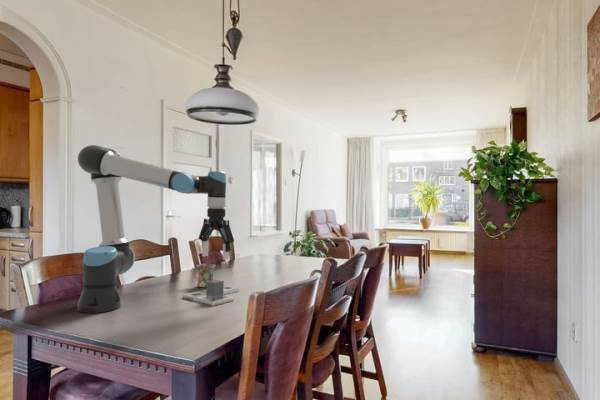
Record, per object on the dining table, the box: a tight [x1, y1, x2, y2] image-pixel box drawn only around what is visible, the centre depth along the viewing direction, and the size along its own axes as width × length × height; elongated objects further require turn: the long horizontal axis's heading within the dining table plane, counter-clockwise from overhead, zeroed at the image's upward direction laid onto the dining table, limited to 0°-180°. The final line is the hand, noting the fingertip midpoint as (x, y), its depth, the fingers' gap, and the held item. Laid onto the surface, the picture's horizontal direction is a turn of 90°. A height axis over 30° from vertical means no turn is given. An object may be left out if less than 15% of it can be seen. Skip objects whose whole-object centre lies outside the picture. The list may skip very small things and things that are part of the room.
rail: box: [182, 285, 241, 302], centre depth 182 cm, size 26×8×2 cm, turn 141°
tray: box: [195, 294, 235, 307], centre depth 170 cm, size 11×11×2 cm
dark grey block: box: [205, 279, 225, 301], centre depth 170 cm, size 5×5×8 cm
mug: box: [190, 263, 217, 289], centre depth 199 cm, size 12×9×11 cm
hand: (215, 257), depth 170 cm, fingers open, 13 cm apart
